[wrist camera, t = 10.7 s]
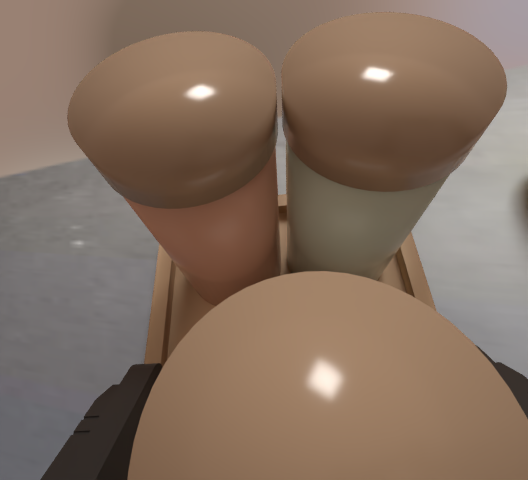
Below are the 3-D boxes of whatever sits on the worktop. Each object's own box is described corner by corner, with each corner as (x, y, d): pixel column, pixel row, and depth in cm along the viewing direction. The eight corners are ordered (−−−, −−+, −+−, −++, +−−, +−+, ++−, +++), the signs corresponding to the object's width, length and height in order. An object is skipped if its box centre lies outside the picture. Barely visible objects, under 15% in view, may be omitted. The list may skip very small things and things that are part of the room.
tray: (385, 207, 21) (396, 185, 19) (487, 560, 12) (525, 589, 10) (176, 224, 21) (164, 204, 19) (141, 573, 13) (113, 603, 11)
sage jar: (371, 212, 19) (459, 3, 9) (394, 300, 16) (551, 136, 6) (281, 220, 19) (274, 22, 9) (289, 307, 16) (291, 158, 7)
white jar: (350, 359, 15) (463, 259, 5) (377, 505, 12) (696, 822, 3) (238, 367, 15) (152, 283, 6) (240, 513, 12) (80, 839, 3)
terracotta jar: (279, 220, 19) (269, 23, 9) (287, 307, 16) (284, 158, 7) (191, 227, 19) (92, 41, 10) (185, 314, 17) (39, 179, 7)
